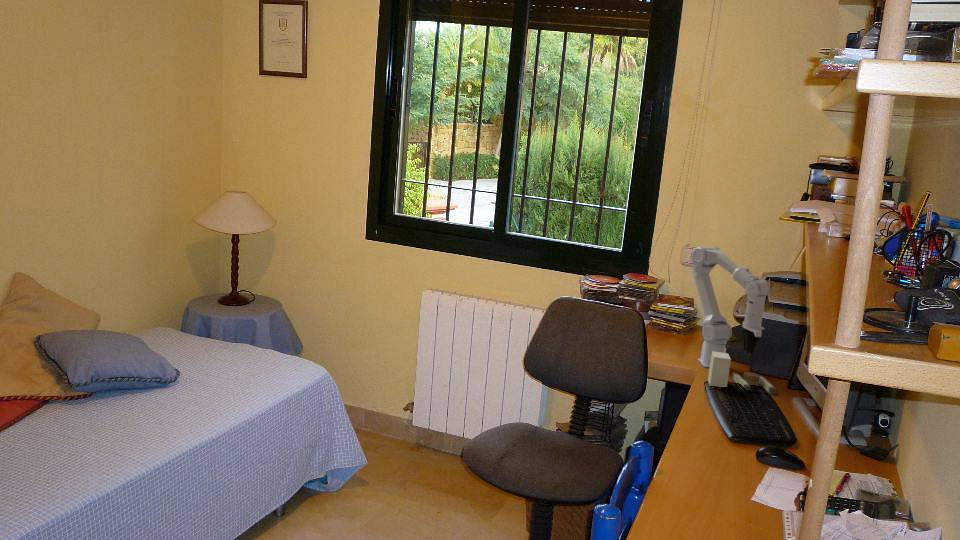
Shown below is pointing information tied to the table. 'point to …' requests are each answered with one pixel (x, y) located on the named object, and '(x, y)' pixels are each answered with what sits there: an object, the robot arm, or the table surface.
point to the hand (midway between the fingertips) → (748, 351)
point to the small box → (719, 369)
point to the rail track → (762, 382)
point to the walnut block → (751, 378)
